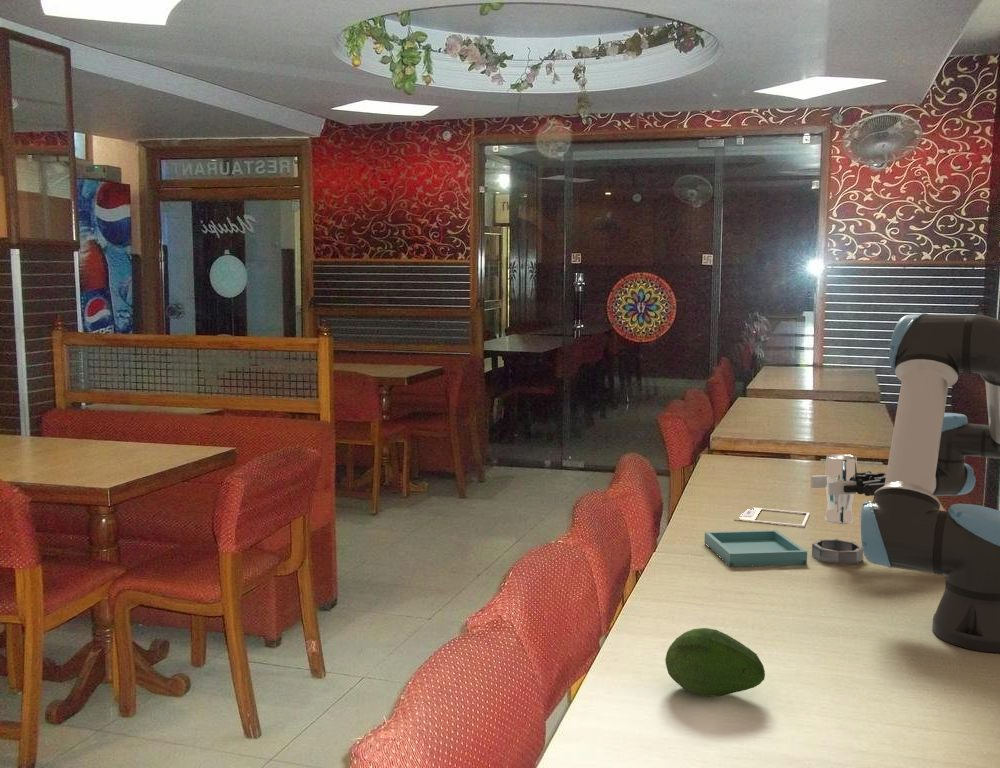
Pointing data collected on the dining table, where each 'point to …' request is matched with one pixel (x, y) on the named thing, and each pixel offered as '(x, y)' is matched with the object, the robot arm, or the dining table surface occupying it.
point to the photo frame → (753, 514)
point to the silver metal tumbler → (840, 471)
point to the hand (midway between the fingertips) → (820, 485)
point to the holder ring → (837, 552)
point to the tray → (755, 548)
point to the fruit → (713, 663)
